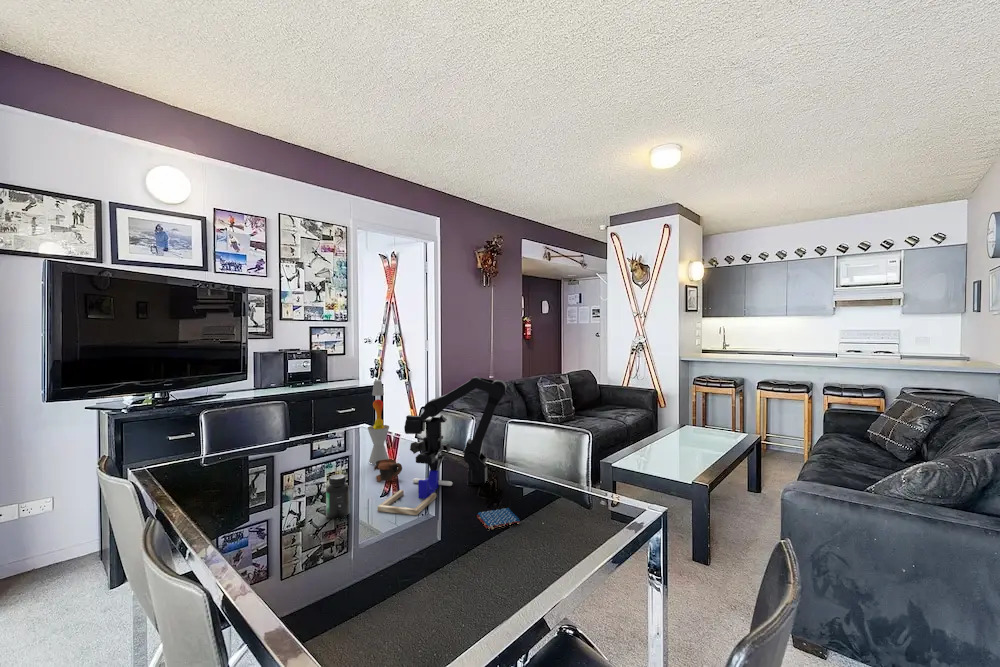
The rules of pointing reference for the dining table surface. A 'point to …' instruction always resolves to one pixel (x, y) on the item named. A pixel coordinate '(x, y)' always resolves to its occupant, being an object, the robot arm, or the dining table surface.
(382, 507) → the frame
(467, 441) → the robot arm
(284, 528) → the dining table surface
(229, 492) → the dining table surface
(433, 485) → the cable clip
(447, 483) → the white peg
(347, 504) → the supplement bottle
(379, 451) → the lava lamp
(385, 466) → the pottery mug
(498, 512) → the woven mat
